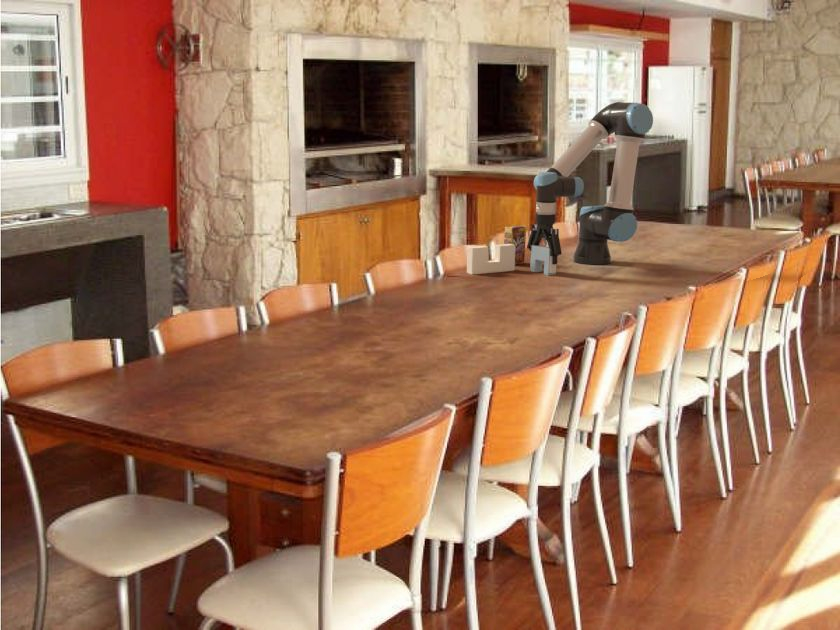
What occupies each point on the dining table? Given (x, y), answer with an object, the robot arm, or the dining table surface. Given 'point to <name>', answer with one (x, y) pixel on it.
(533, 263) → the light blue arch block
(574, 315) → the dining table surface
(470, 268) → the slotted stand
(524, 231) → the candy box
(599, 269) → the dining table surface
